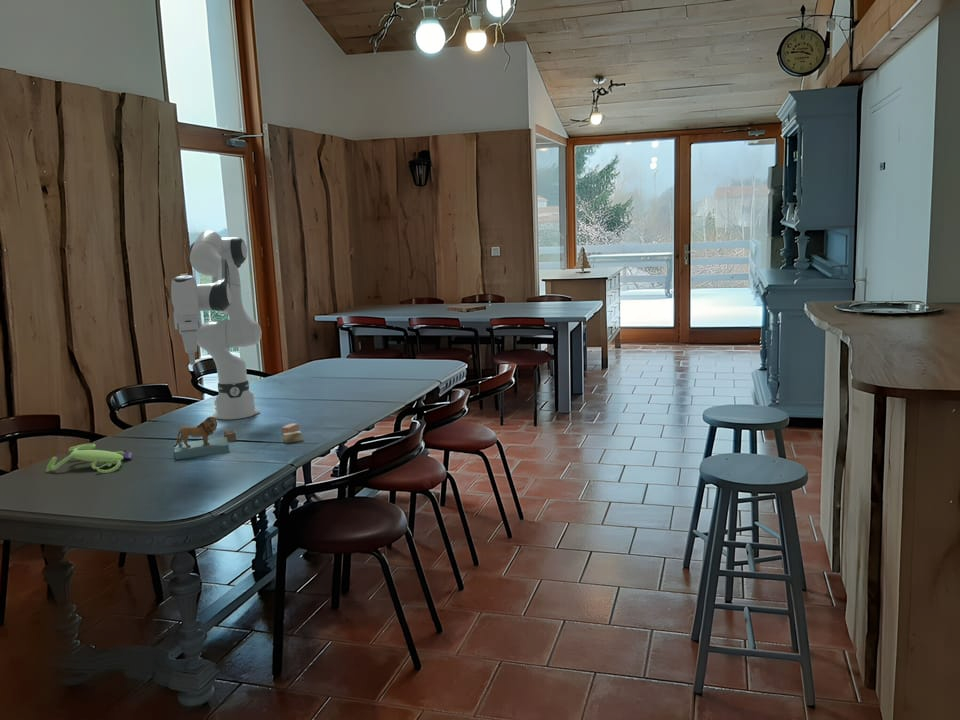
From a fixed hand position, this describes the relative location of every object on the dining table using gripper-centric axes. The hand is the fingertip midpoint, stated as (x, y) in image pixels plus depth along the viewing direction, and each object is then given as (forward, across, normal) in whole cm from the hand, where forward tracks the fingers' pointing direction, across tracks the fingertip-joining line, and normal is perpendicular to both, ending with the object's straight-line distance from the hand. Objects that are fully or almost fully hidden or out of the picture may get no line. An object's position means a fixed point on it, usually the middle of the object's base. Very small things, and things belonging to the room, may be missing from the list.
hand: (192, 362), depth 272 cm
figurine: (+30, +9, -34) cm, 46 cm away
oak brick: (+29, +13, +30) cm, 44 cm away
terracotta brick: (+29, +1, +31) cm, 43 cm away
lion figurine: (+27, +11, -1) cm, 29 cm away
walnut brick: (+29, -1, +10) cm, 31 cm away
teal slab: (+29, +11, 0) cm, 31 cm away
